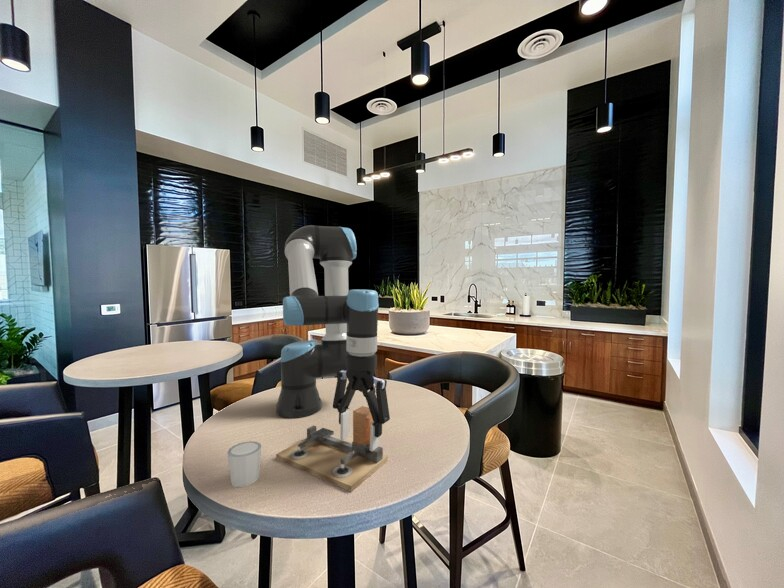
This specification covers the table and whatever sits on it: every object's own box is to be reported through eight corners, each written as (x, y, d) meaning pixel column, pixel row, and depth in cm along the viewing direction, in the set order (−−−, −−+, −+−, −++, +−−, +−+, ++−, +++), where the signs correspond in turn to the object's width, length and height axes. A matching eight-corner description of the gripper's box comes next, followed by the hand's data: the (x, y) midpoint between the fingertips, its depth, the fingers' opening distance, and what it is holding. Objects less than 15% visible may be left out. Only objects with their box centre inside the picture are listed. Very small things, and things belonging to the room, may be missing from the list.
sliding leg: (334, 468, 72) (334, 420, 72) (363, 447, 81) (362, 405, 81) (348, 473, 70) (347, 424, 70) (376, 452, 79) (375, 408, 79)
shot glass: (235, 471, 74) (235, 441, 74) (265, 469, 75) (265, 440, 74) (222, 490, 67) (221, 457, 67) (255, 488, 68) (255, 455, 67)
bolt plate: (276, 459, 79) (276, 443, 79) (317, 436, 91) (317, 422, 91) (351, 492, 66) (351, 473, 66) (387, 460, 78) (387, 444, 78)
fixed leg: (292, 451, 79) (292, 443, 79) (323, 434, 88) (322, 427, 88) (303, 455, 77) (303, 448, 77) (333, 438, 86) (333, 431, 86)
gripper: (318, 349, 80) (317, 436, 81) (389, 363, 69) (387, 464, 70) (338, 344, 87) (337, 425, 88) (407, 356, 75) (404, 449, 76)
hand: (359, 442), depth 79 cm, fingers open, 9 cm apart
